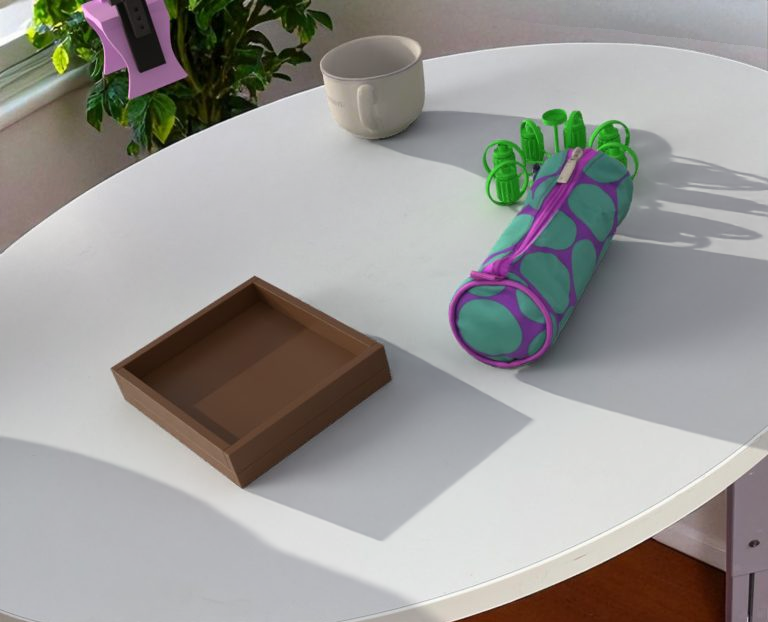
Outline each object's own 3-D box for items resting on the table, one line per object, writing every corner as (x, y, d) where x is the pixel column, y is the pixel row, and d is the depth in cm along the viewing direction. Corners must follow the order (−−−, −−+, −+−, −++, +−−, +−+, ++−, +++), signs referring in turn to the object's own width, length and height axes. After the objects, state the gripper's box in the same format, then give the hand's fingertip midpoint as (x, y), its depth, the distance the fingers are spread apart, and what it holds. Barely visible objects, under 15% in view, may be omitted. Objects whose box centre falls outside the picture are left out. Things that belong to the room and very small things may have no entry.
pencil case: (540, 227, 98) (530, 128, 91) (636, 235, 94) (633, 133, 87) (452, 371, 86) (433, 271, 79) (557, 387, 82) (546, 283, 75)
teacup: (352, 104, 122) (336, 34, 117) (443, 98, 119) (432, 26, 113) (315, 168, 114) (296, 96, 108) (412, 164, 110) (398, 89, 105)
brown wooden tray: (125, 399, 92) (109, 368, 89) (265, 307, 97) (254, 275, 95) (242, 489, 81) (228, 456, 79) (392, 379, 87) (384, 345, 84)
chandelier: (672, 187, 98) (672, 116, 93) (525, 246, 96) (517, 176, 91) (590, 127, 108) (586, 60, 103) (457, 179, 106) (446, 113, 101)
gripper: (121, -214, 83) (209, 72, 99) (57, -243, 97) (143, 11, 113) (30, -185, 81) (133, 101, 97) (-22, -218, 96) (76, 36, 112)
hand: (138, 53), depth 105 cm, fingers closed on toy chair, 8 cm apart
